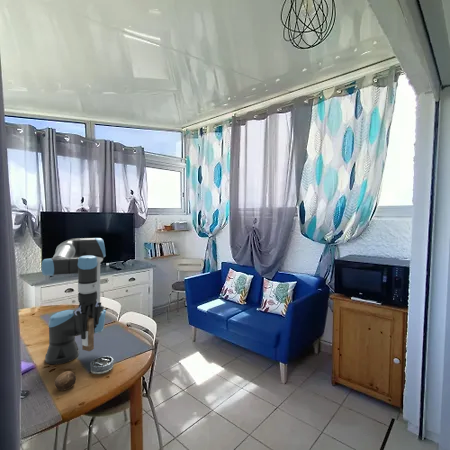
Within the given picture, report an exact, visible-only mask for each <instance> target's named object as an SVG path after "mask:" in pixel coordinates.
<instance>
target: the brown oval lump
mask: <svg viewBox="0 0 450 450" xmlns="http://www.w3.org/2000/svg"><path fill="white" fill-rule="evenodd" d="M76 380H77V376H76V374H75V372H73V371H72V370H66V371H63V372H61V373H60V374H59V375H58V376H57V377H55V379H54V387H55V388H56V389H57V390H58V391H67V390H69V389H70V388H72V387H73V386H74V385H75V383H76Z"/></svg>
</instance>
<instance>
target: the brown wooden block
mask: <svg viewBox="0 0 450 450" xmlns="http://www.w3.org/2000/svg"><path fill="white" fill-rule="evenodd" d="M87 331H88V346H84V345H82V344H81V346H82V351H86V352H91V351H93V350H94V349H95V347H94V346H95V343H94V342H95V333H94V318H91V317H88V321H87Z"/></svg>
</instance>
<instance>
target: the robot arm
mask: <svg viewBox="0 0 450 450" xmlns="http://www.w3.org/2000/svg"><path fill="white" fill-rule="evenodd" d="M106 256H107V255H106V247H105V242H104V239H103V238H101V237H84V238H83V237H81V238H80V237H77V238H70V239H67V240H65V241H63V242H61V243H60V244H58V245H57V246H56V249H55V252H54V255H53V257H51V258H44V259H43V260H42V261H41V274H42V275H43V276H44V277H45V276H51V277H52V276H65V275H77V278H78V279H77V292H78V293H77V299H78V300H77V301H78V303H79V304H78V307H77V309H76V310H75V309H66V310H61V311H58V312H55V313H54V314H52V315H51V316H50V317H49V320H48V346H47V347H48V348H47V351H46V353H45V356H44V357H45V358H44V361H45V363H47V364H48V365H62V364H65V363H68V362H71V361H72V360H73V361H74V360H75V359H77V357H78V356H79V353H80V352H79V351H80V350H79V347H78V343H77V342H76V337H78V336H80V339H81V346H82V345H84V346H88V331H87V321H88V317H91V318H94V334H98V333H102V332H103V330H104V328H105V319H106V312H107V310H106V309H104V306H103V304H102V302H101V263H102V262H103V261H104V258H105V257H106Z"/></svg>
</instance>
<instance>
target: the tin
mask: <svg viewBox="0 0 450 450" xmlns="http://www.w3.org/2000/svg"><path fill="white" fill-rule="evenodd" d="M114 360H115V359H114V358H113V357H112V356H110V355H102V356H99V357H96V358H94V359H92V360H91V361H90V364H89V367H90V369H89V370H90V372H91V374H93V375H103V374H107V373H109V372H111V371H112V369H113V368H114Z"/></svg>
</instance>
